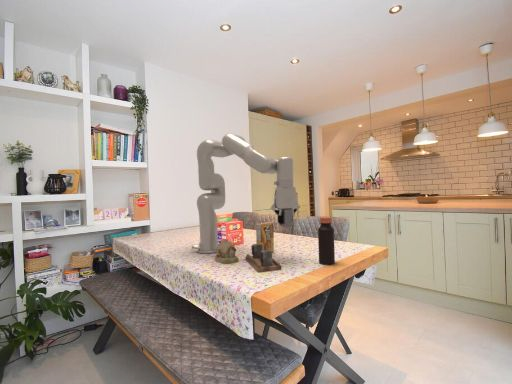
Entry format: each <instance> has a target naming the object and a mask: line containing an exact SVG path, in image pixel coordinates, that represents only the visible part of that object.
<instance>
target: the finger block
mask: <svg viewBox="0 0 512 384" xmlns="http://www.w3.org/2000/svg"><path fill="white" fill-rule="evenodd" d="M281 215H282V224H279V226H280V227H283V228H293V227H294V224H293V223H294V215H293V209H282V213H281Z"/></svg>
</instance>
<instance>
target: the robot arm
mask: <svg viewBox="0 0 512 384" xmlns="http://www.w3.org/2000/svg"><path fill="white" fill-rule="evenodd" d="M233 155H235V156H237V157H238V158H240V159H241V160H242V161H243V162H244V163H245V164H246V165H248V167H250V168H252V169H253V170H256V171H257V172H258V173H261V174H268V175H269V174H271V175H273V174H276V181H274V182H273V185H275V186H276V187H275V188H274V189H275V190H274V196H273V197H274V198H273V203H272V205H271V207H270V210H271V211H273V212H274V213H275V215H276V216H277V223H278V225H280V224H282V215H281V213H282V209H293V216H294V215H295V214H296V212H297V211H298V210H300V208H301V207H300V204H299V203H298V195H297V189H296V186H294V159H293V157H289V156H281V157H278V158H275V157H270V156H269V157H268V156H265V155H262V154H261V153H259V152H257V150H255V148H254V145H252V143H250V142H249V141H246V139H245V138H244V137H243V136H241V135H238V134H235V133H226V134H225V135H224V136H222V138H221V141H220V140H214V139H207V140H203V141H201V143H200V144H199V145H198V147H197V150H196V158H197V167H198V168H197V169H198V170H197V172H198V173H197V174H198V186H199V189H201V190H203V191H210V192H205V193H202V194H200V195H199V196H198V197H197V199H196V207H197V211H198V218H199V219H198V220H199V243H197V244H192V245H191V249H195V250H197V252H198V253H199V254H215V253H217V251H216V248H217V246H218V245H219V242H218V241H219V238H218V236H219V235H218V234H219V233H218V217H217V213H216V211H215V210H220V209H222V208H223V207H224V206H225V204H226V185H225V183H226V182H225V178H224V177H223V176H222V175H221V174H220V173H215V164H214V161H213V159H212V157H214V158H227V157H230V156H233Z"/></svg>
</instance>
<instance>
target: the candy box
mask: <svg viewBox="0 0 512 384" xmlns="http://www.w3.org/2000/svg"><path fill="white" fill-rule="evenodd" d="M274 235H275V233H274V222H271V221H269V222H260V223H256V224H255V236H256V237H255V238H256V239H255V240H256V241H255V242H256V243H255V244H262V245H263V250H271V251H272V253H274V252H275V242H274V241H275V240H274V238H275V237H274Z"/></svg>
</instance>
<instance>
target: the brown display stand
mask: <svg viewBox="0 0 512 384" xmlns="http://www.w3.org/2000/svg"><path fill="white" fill-rule="evenodd" d="M245 261H246V262H247V263H248V264H249V265H250V266H251V267H252V268H253V269H254V270H255V271H256V272H257V273H264V272H272V271H281V270H282V265H281V263H279V262H278V261H277V260H276V259H275V258H273V252H272V251H271V250H263V245H262V244H256V243H253V244H252V245H251V255H250V254H249V253H247V254H246V256H245Z"/></svg>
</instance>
